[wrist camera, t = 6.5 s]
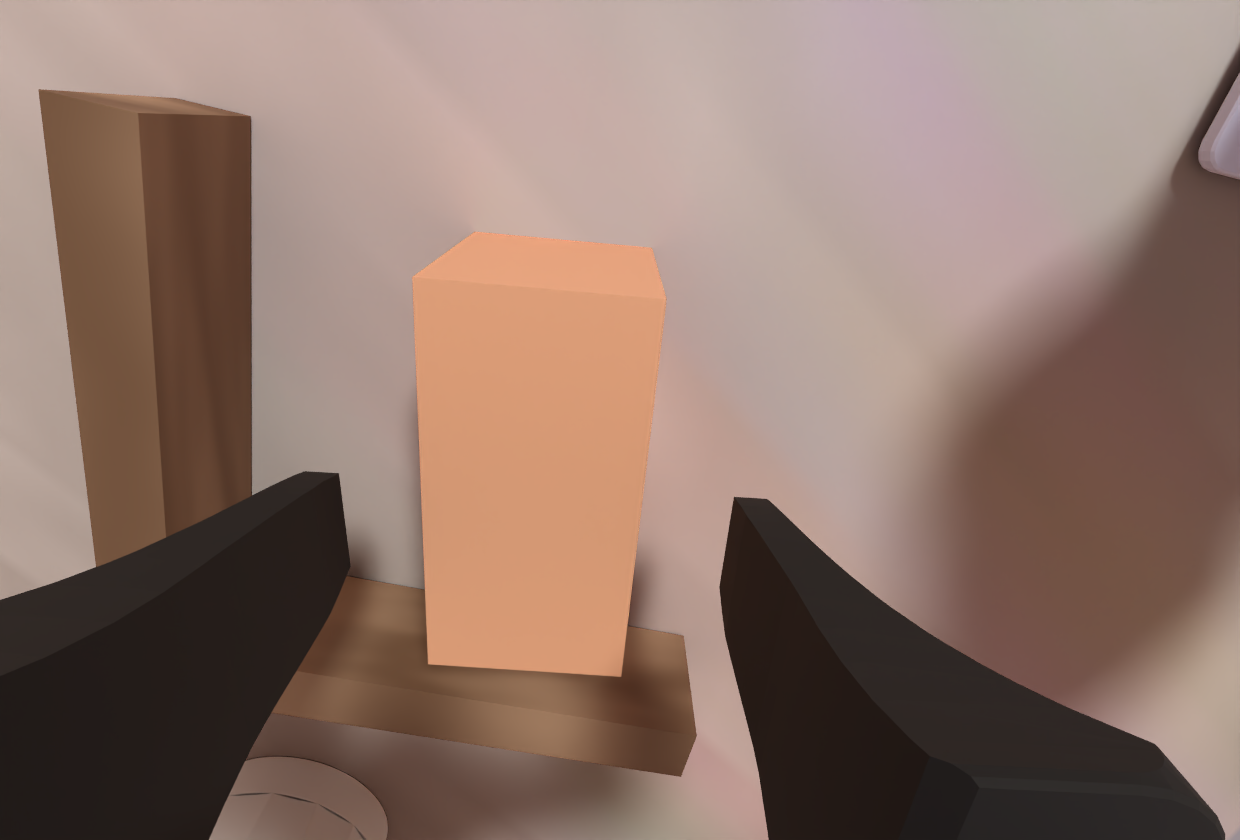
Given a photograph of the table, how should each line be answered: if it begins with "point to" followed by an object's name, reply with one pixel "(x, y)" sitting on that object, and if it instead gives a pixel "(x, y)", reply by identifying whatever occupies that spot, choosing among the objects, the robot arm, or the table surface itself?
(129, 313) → the wooden l-shaped bracket
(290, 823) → the cup
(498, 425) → the block
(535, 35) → the table surface
